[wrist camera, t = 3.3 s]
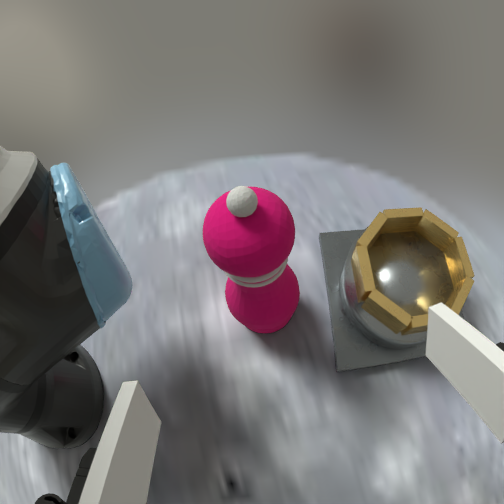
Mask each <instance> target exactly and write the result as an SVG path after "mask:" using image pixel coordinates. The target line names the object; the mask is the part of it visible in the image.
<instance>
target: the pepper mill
mask: <svg viewBox="0 0 504 504" xmlns="http://www.w3.org/2000/svg"><path fill="white" fill-rule="evenodd" d="M294 239H295V226H294V221H293V217H292V215H291V213H290V211H289V209H288V207H287V205H286V204H285V203H284V202H283V200H282V199H280V198H279V197H278V196H277V195H276V194H274V193H272V192H270V191H268V190H265V189H262V188H258V187H246V186H239V187H236V188H234V189H232V190H231V191H229V192H226V193H224V194H223V195H222V196H221V197H219V198H218V199H217V200H216V201H215V202H214V203H213V204H212V206H211V207H210V208H209V210H208V212H207V214H206V217H205V220H204V224H203V240H204V245H205V247H206V250H207V252H208V255H209V256H210V258H211V259H212V261H213V262H214V263H215V264H216V265H217V266H218V267H219V268H220V269H222V270H223V271H224V272H225V273H226V275H227V276H228V280H227V283H226V290H225V295H226V301H227V304H228V308H229V310H230V312H231V313H232V315H233V316H234V317H235V318H236V319H237V320H238V321H239V322H240V323H242V324H243V325H245V326H246V327H247V328H249V329H250V330H252V331H254V332H257V333H272V332H275V331H278V330H280V329H281V328H283V327H284V326H285V325H286V324H287V323H288V322H289V320H290V319H291V317H292V315H293V313H294V311H295V310H296V308H297V305H298V302H299V294H300V293H299V285H298V281H297V278H296V276H295V274H294V272H293V271H292V269H291V268H290V267H289V266H288V264H287V261H288V256H289V254H290V252H291V250H292V247H293V245H294Z"/></svg>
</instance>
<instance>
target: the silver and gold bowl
mask: <svg viewBox="0 0 504 504" xmlns="http://www.w3.org/2000/svg"><path fill="white" fill-rule="evenodd" d="M457 236H458V232H457V231H456V230H454V229H453V228H452V227H450V226H449V225H448V224H446V223H445V222H443V221H442V220H441V219H439V218H438V217H437V216H435V215H434V214H432V213H431V212H429V211H428V210H427V209H426V210H425V211H424V213H423V211H422V208H404V209H387V210H384V211H383V213H381V212H379V214H378V215H377V216H376V218H375V219H374V220H373V222H372V223H371V224H370V226H369V227H367V228H366V229H365V230H352V231H340V232H328V233H320V235H319V241H320V247H321V254H322V260H323V267H324V273H325V280H326V287H327V294H328V302H329V310H330V317H331V326H332V334H333V343H334V352H335V362H336V372H340V371H347V370H354V369H361V368H367V367H373V366H379V365H385V364H391V363H396V362H401V361H406V360H411V359H416V358H421V357H425V356H426V355H425V354H426V343H427V329H428V308H429V307H431V306H433V305H436V304H438V303H441V302H442V303H443V304H444V305H446V306H447V307H448V308H450V309H451V310H452V311H454V312H455V313H456V314H457V315H459V316H460V317H461V318H463V314H462V307H463V305H464V302H465V300H466V298H467V296H468V294H469V292H470V289H471V287H472V285H473V283H474V280H473V279H472V278H473V277H474V273H473V270H472V266H471V263H470V260H469V257H468V254H467V251H466V248H465V245H464V242H463V239H462V237H457ZM463 319H464V318H463Z"/></svg>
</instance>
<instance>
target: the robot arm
mask: <svg viewBox="0 0 504 504" xmlns="http://www.w3.org/2000/svg"><path fill="white" fill-rule="evenodd" d="M131 290H132V279H131V276H130V274H129V272H128V270H127V268H126V266H125V264H124V262H123V260H122V259H121V257H120V255H119V253H118V252H117V250H116V248H115V246H114V245H113V243H112V241H111V239H110V238H109V236H108V234H107V232H106V230H105V229H104V227H103V225H102V223H101V222H100V220H99V218H98V216H97V214H96V213H95V211H94V209H93V207H92V205H91V203H90V202H89V200H88V198H87V196H86V194H85V192H84V191H83V189H82V187H81V185H80V183H79V181H78V180H77V178H76V176H75V175H74V173H73V172H72V170H71V167H70V166H69V165H68V164H67V163H61V164H59V165H54V166H52V167H51V171H49V172H48V171H47V170H46V169H45V168H44V167H43V165H42V164H41V163H40V161H39V160H38V158H37V157H36V156H35V154H34V153H32V152H18V151H7V150H5V149H4V148H2V146H1V145H0V432H3V433H17V434H21V435H23V436H25V437H27V438H29V439H31V440H33V441H35V442H38V443H40V444H42V445H44V446H47V447H51V448H57V449H60V448H73V447H77V446H79V445H81V444H83V443H84V442H86V441H87V440H88V439H89V438H90V437H91V436H92V435H93V433H94V432H95V430H96V428H97V426H98V424H99V421H100V418H101V414H102V408H103V389H102V383H101V378H100V375H99V372H98V369H97V367H96V365H95V363H94V361H93V359H92V358H91V356H90V355H89V353H88V352H87V351H86V350H85V349H84V348H83V347H82V346H81V345H80V344H81V343H82V342H83V341H85V340H86V339H87V338H88V337H90V336H91V335H92V334H93V333H94V332H96V331H97V330H98V329H99V328H102V327H104V326H105V324H106V321H107V320H108V319H109V318H110V317H111V316H112V315H113V314H114V313H115V312H116V311H117V310H118V309H119V308H120V307H121V306H123V305H124V304H125V303H126V302H127V300H128V298H129V297H130V294H131ZM425 355H426V356H427V357H428V359H429V360H430V361H431V362H432V363H433V364H434V365H435V366H436V367H437V368H438V370H439V371H440V372H441V373H442V374H443V375H444V376H445V377H446V379H447V380H448V381H449V382H450V383H451V384H452V385H453V387H454V388H455V389H456V390H457V391H458V392H459V393H460V395H461V396H462V397H463V398H464V399H465V400H466V401H467V403H468V404H469V405H470V406H471V407H472V409H473V410H474V411H475V412H476V413H477V414H478V416H479V417H480V418H481V419H482V420H483V422H484V423H485V424H486V425H487V426H488V428H489V429H490V430H491V431H492V433H493V434H494V435H495V436H496V438H497V439H498V440H499V441H500V443H501V444H502V443H503V442H504V343H501V342H500V343H498V344H496V345H495V344H494V343H493V342H491V341H490V340H489V339H488V338H487V337H485V336H484V335H483V334H482V333H480V332H479V331H478V330H477V329H475V328H474V327H473V326H472V325H470V324H469V323H468V322H466V321H465V320H464V319H463V318H461V317H460V316H459V315H457V314H456V313H455V312H454V311H452V310H451V309H450V308H448V307H447V306H446V305H444V304H443V303H442V302H441V303H438V304H436V305H433V306H431V307H429V308H428V329H427V343H426V354H425ZM160 427H161V420H160V419H159V417H158V415H157V414H156V412H155V410H154V409H153V407H152V405H151V403H150V402H149V400H148V398H147V396H146V394H145V393H144V391H143V389H142V387H141V385H140V383H139V381H138V380H136V381H128V382H123V383H122V386H121V388H120V391H119V393H118V396H117V398H116V401H115V403H114V406H113V408H112V411H111V413H110V416H109V418H108V421H107V424H106V426H105V429H104V432H103V434H102V437H101V440H100V442H99V445H98V448H90V449H89V450H88V451H87V452H86V454H85V455H84V456H83V457H82V460H81V463H80V465H79V469H78V471H77V473H76V477H75V479H74V482H73V484H72V487H71V490H70V493H69V496H68V499H67V501H66V502H64V501H63V500H62V499H61V498H60V497H59V496H57V495H55V494H45V495H42V496H41V497H40V498H38V500H37V501H36V502H35V504H146V503H147V497H148V491H149V485H150V480H151V474H152V468H153V463H154V458H155V453H156V447H157V442H158V437H159V432H160Z"/></svg>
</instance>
